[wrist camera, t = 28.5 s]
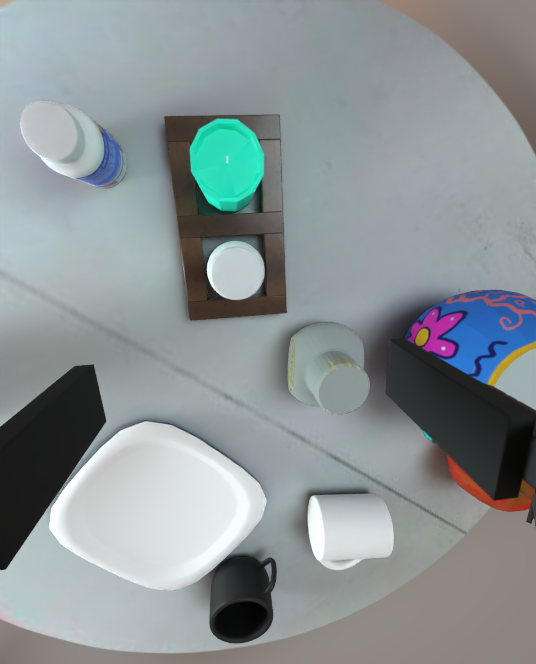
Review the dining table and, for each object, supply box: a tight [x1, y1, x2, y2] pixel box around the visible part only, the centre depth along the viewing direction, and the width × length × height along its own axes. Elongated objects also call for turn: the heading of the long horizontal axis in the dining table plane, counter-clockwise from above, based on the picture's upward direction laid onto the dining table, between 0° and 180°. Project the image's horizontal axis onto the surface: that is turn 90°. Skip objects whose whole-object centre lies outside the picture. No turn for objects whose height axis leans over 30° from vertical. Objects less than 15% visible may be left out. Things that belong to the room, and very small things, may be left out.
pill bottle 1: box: [20, 100, 127, 188], centre depth 28 cm, size 5×5×10 cm
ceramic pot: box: [404, 290, 536, 444], centre depth 36 cm, size 18×18×15 cm
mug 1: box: [209, 557, 277, 643], centre depth 47 cm, size 12×9×7 cm
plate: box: [49, 420, 267, 591], centre depth 45 cm, size 25×25×2 cm
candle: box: [190, 119, 264, 212], centre depth 29 cm, size 6×6×12 cm
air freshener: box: [288, 322, 370, 415], centre depth 37 cm, size 11×8×10 cm
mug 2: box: [308, 493, 394, 570], centre depth 46 cm, size 12×10×8 cm
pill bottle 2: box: [207, 241, 265, 300], centre depth 32 cm, size 6×6×10 cm
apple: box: [446, 454, 534, 512], centre depth 44 cm, size 11×11×11 cm
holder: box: [164, 115, 287, 320], centre depth 35 cm, size 21×11×2 cm, turn 3°
